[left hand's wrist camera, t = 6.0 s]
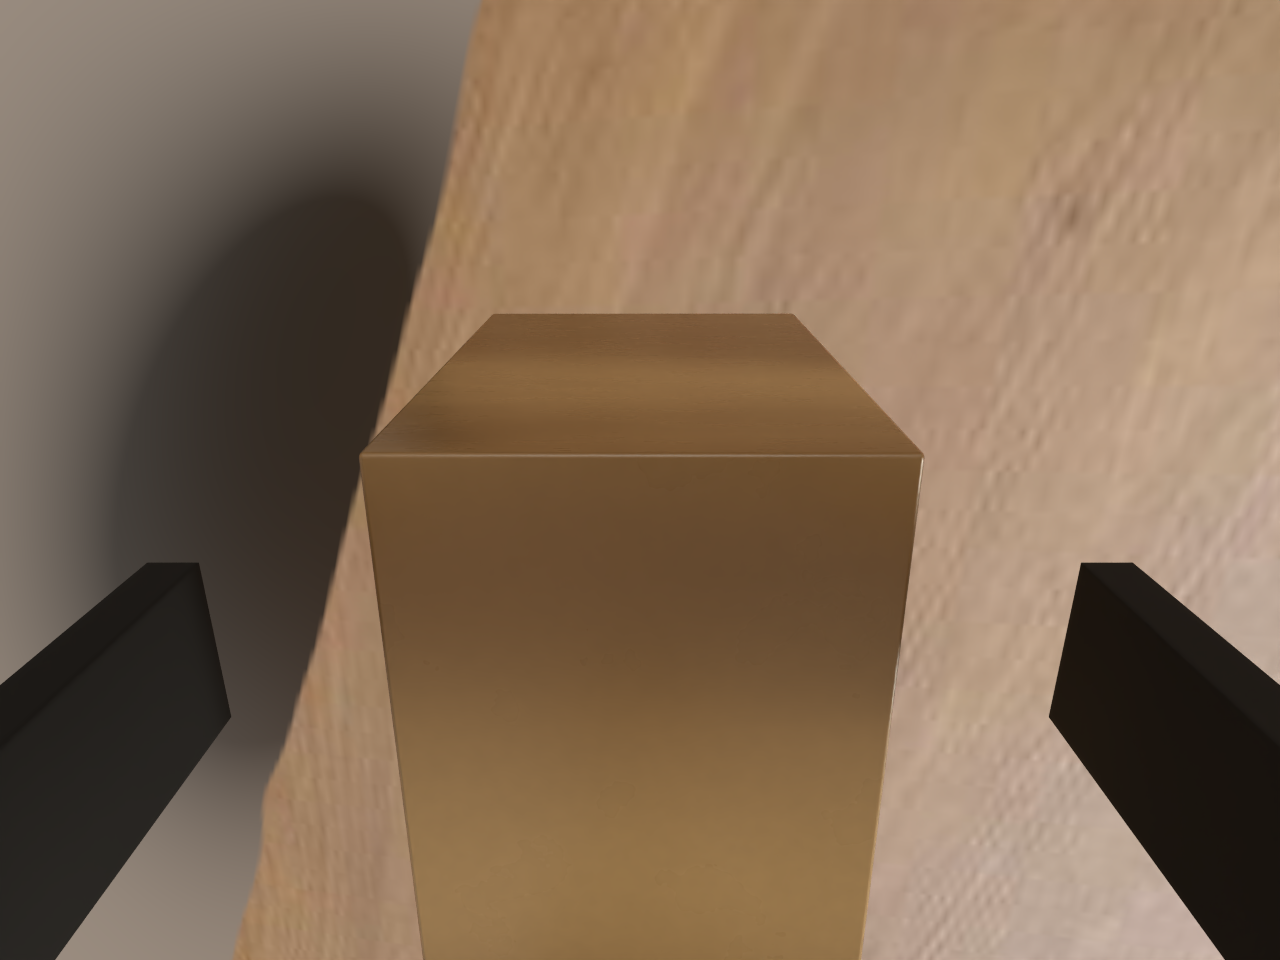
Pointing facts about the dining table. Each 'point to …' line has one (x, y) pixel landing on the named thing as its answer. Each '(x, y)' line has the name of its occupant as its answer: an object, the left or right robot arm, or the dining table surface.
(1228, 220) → the dining table surface
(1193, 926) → the dining table surface
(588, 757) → the box
